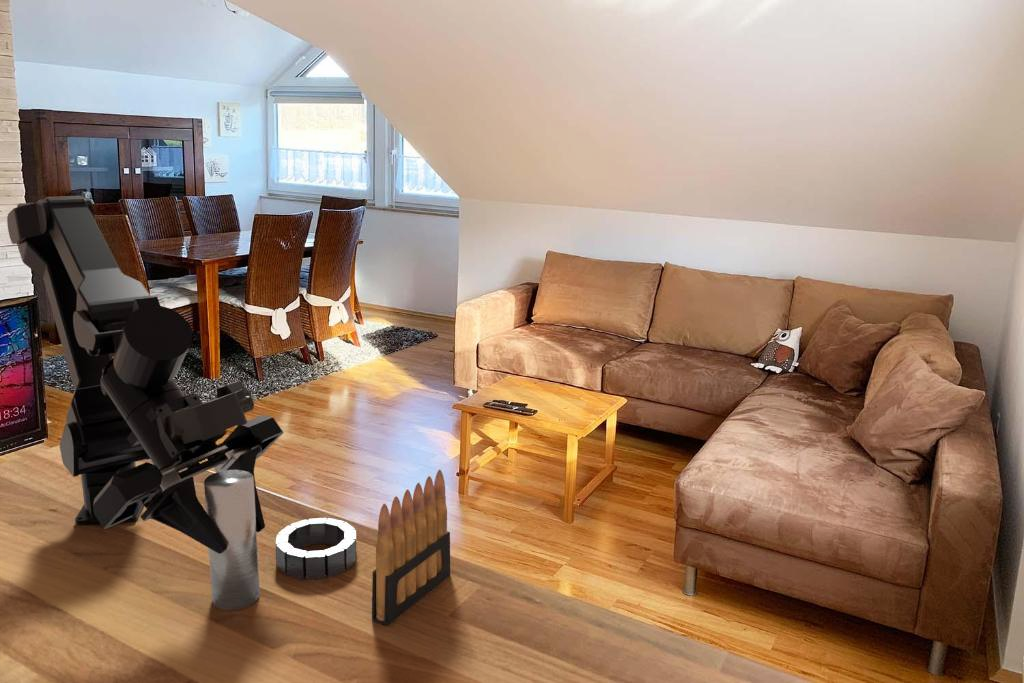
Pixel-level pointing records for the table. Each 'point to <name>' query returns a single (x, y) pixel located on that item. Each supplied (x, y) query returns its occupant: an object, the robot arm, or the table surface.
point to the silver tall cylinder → (233, 539)
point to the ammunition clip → (410, 550)
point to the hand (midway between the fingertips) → (243, 540)
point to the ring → (316, 561)
